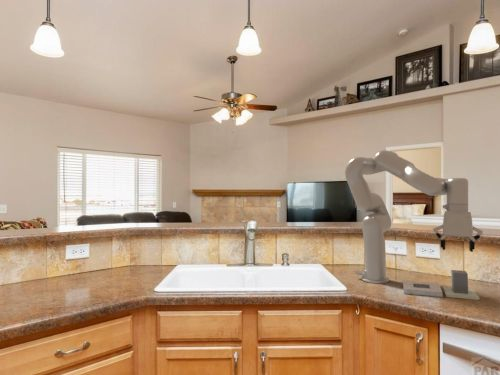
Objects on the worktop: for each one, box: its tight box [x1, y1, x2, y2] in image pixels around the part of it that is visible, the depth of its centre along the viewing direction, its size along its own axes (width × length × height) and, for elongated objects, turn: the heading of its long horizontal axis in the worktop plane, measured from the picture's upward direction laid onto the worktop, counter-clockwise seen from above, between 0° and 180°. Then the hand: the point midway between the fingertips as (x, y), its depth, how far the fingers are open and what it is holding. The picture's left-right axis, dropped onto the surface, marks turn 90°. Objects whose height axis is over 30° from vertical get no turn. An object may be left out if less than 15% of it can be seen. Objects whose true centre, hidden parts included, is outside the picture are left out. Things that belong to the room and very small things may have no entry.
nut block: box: [450, 269, 469, 294], centre depth 137 cm, size 5×5×8 cm
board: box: [442, 286, 480, 301], centre depth 137 cm, size 11×12×1 cm
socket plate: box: [402, 280, 443, 298], centre depth 143 cm, size 14×14×2 cm
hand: (457, 250), depth 138 cm, fingers open, 9 cm apart
